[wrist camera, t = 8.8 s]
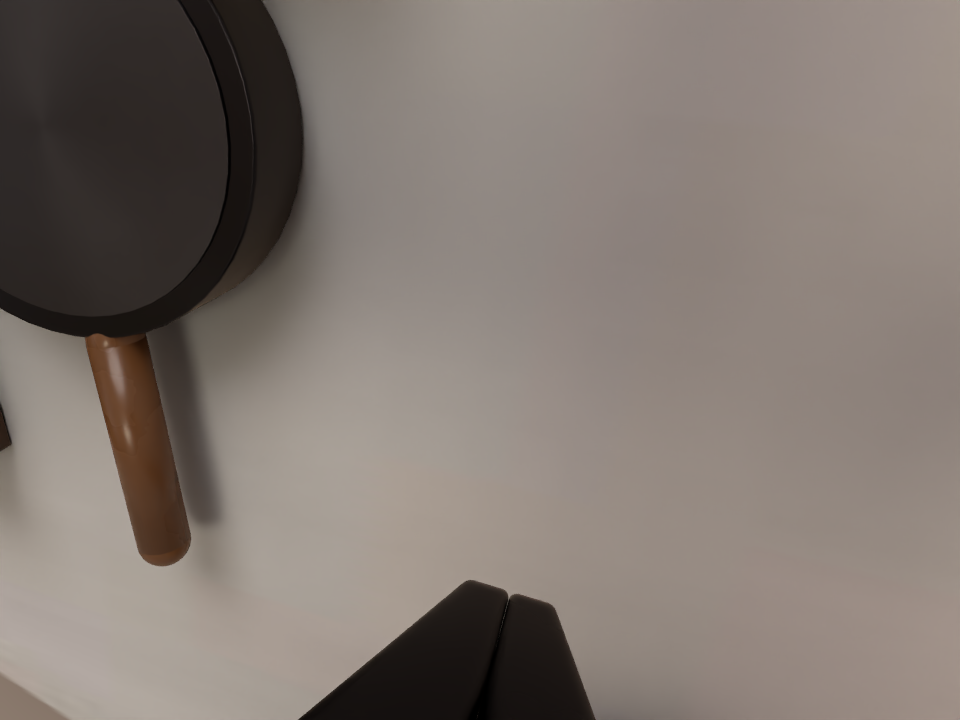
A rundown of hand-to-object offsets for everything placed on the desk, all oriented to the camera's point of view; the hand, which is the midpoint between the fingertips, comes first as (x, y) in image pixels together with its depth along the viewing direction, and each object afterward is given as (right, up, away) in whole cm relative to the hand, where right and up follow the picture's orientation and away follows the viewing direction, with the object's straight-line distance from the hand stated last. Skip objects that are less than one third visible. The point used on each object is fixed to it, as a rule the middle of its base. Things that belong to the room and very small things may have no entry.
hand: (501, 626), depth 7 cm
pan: (-9, +5, +13) cm, 17 cm away
